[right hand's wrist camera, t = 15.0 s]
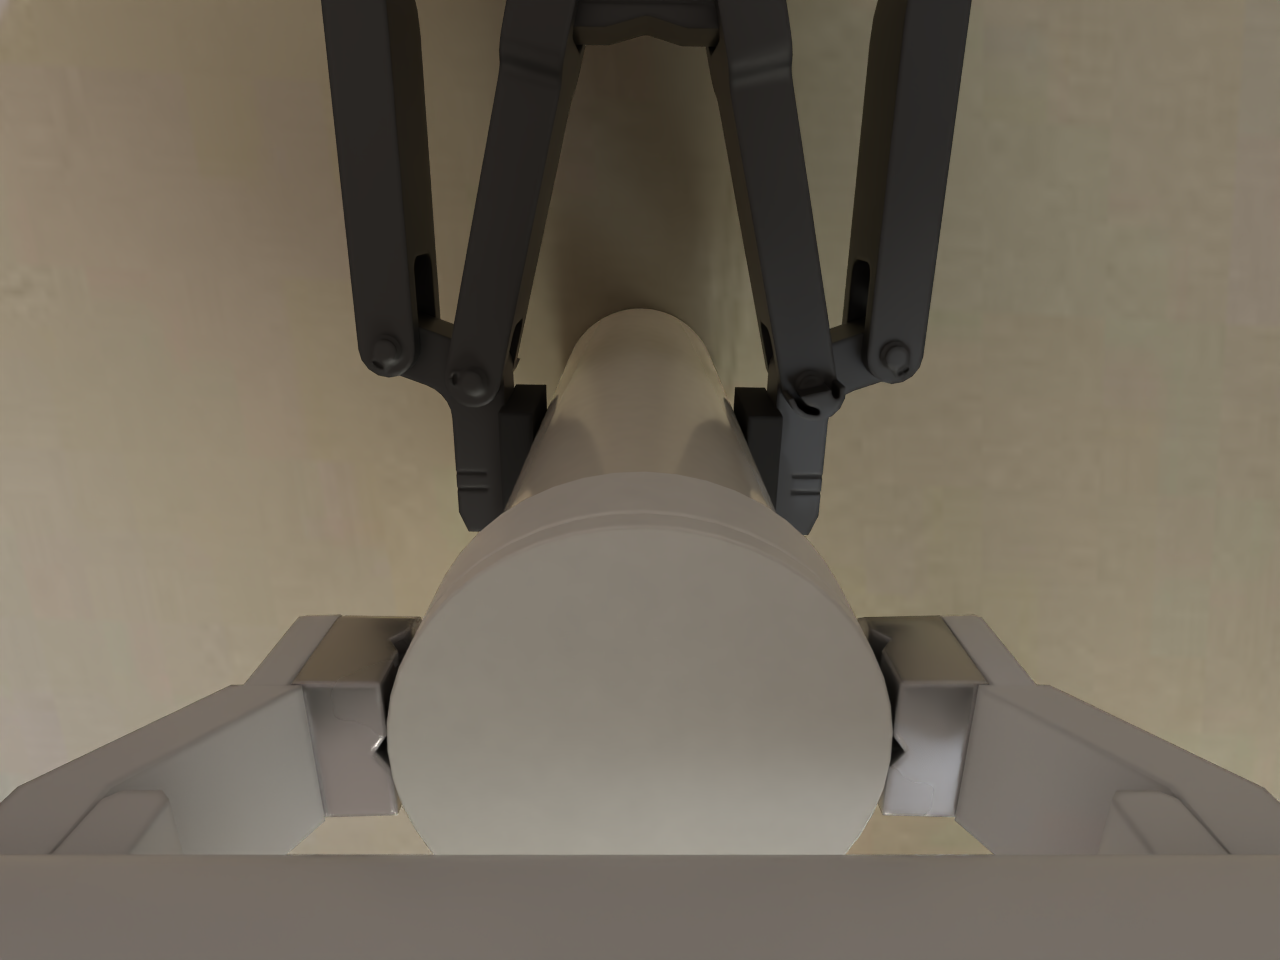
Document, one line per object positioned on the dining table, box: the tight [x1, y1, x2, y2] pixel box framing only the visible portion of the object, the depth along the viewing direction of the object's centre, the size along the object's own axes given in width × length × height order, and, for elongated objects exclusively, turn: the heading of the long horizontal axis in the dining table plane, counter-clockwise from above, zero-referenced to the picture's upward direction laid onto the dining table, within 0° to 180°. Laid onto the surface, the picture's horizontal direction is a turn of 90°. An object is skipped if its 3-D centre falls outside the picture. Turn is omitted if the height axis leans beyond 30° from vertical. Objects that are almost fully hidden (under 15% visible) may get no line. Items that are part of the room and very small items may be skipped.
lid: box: [387, 472, 893, 855], centre depth 9 cm, size 6×6×2 cm
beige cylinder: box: [503, 308, 777, 514], centre depth 17 cm, size 5×5×17 cm
